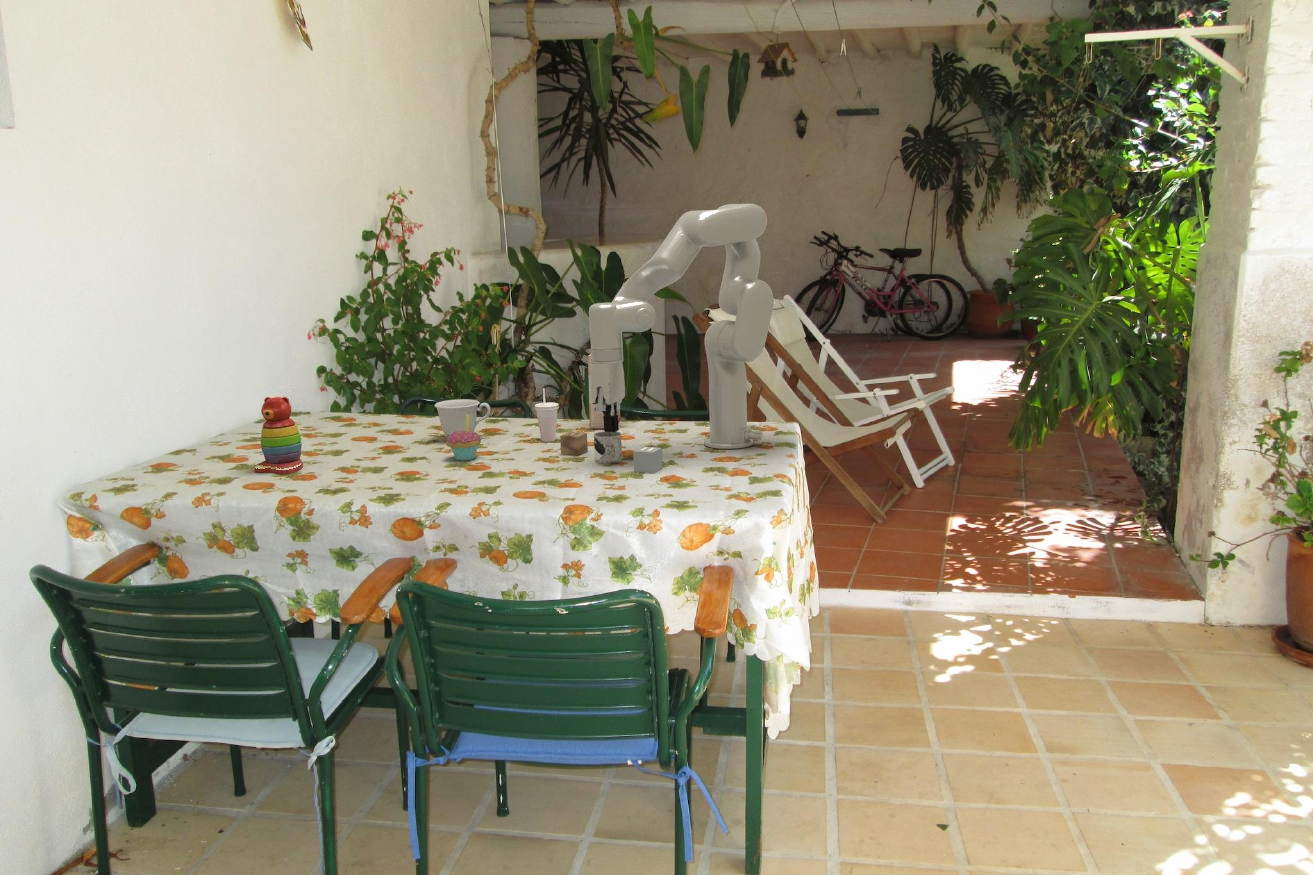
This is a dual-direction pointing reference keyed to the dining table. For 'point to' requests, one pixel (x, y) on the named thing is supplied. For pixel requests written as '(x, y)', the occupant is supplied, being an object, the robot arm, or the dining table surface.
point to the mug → (607, 447)
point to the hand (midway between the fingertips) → (611, 431)
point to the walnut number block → (573, 443)
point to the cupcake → (464, 443)
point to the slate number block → (647, 459)
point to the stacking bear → (279, 437)
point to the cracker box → (595, 405)
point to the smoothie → (547, 419)
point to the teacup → (459, 414)
